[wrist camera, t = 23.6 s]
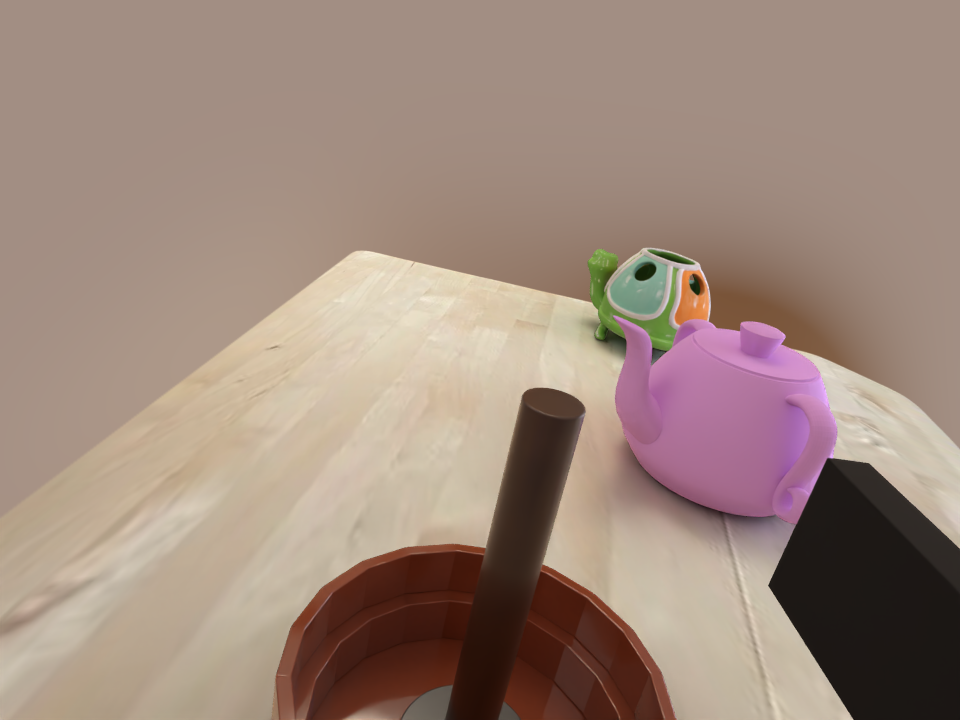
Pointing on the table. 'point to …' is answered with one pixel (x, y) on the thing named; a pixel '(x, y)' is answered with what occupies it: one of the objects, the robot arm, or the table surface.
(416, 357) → the table surface
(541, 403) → the peg on round base
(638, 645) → the bowl
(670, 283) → the turtle holder
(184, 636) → the table surface
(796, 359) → the teapot
